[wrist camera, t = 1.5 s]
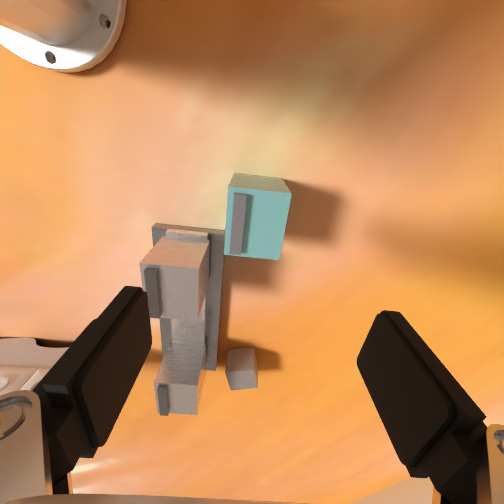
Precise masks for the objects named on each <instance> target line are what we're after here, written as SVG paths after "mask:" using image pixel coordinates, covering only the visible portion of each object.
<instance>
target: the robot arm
mask: <svg viewBox="0 0 504 504" xmlns="http://www.w3.org/2000/svg"><path fill="white" fill-rule="evenodd" d="M126 3H127V0H0V43H1V44H2V45H3V46H4V47H6V48H7V49H8V50H10V51H11V52H13V53H14V54H15V55H17V56H18V57H20V58H22V59H24V60H26V61H28V62H30V63H32V64H34V65H37V66H40V67H43V68H46V69H49V70H53V71H59V72H64V73H68V72H80V71H84V70H87V69H90V68H92V67H94V66H95V65H97V64H99V63H100V62H102V61H103V60H104V59H105V58H106V57H107V55H108V54H109V53H110V52H111V51H112V49H113V48H114V46H115V44H116V42H117V40H118V39H119V36H120V33H121V30H122V27H123V23H124V19H125V11H126ZM110 22H111V25H110V27H108V24H109V23H110ZM151 345H152V335H151V326H150V316H149V307H148V297H147V292H146V291H143V289H142V288H141V287H133V286H125V287H124V288H123V289H122V290H121V291H120V292H119V293H118V295H117V296H116V297H115V298H114V299H113V301H112V302H111V303H110V304H109V305H108V306H107V308H106V309H105V310H104V311H103V312H102V314H101V315H100V316H99V317H98V318H97V319H95V320H93V321H92V322H91V323H90V324H89V325H88V326H87V327H86V328H85V330H84V331H83V332H82V333H81V334H80V335H79V337H78V338H77V339H76V340H75V341H74V342H73V343H72V345H71V346H70V347H69V348H68V349H67V350H66V352H65V353H64V354H63V355H62V356H61V357H60V359H59V360H58V361H57V362H56V363H55V364H54V365H53V367H52V368H51V369H50V370H49V371H48V372H47V374H46V375H45V376H44V377H43V378H42V379H41V381H40V382H39V383H38V384H37V385H36V386H35V388H34V389H33V390H32V391H28V390H19V391H13V392H10V393H7V394H4V395H1V396H0V504H308V503H289V502H270V501H251V500H231V499H210V498H189V497H168V496H146V495H110V494H73V488H72V480H71V473H70V471H72V470H73V469H74V467H75V465H76V463H77V461H78V459H79V457H81V458H93V457H94V455H95V453H96V451H97V449H98V447H102V446H103V445H104V444H105V443H106V441H107V439H108V437H109V435H110V433H111V431H112V429H113V427H114V425H115V422H116V420H117V418H118V416H119V414H120V412H121V410H122V408H123V406H124V404H125V402H126V399H127V397H128V395H129V393H130V391H131V389H132V387H133V385H134V383H135V381H136V378H137V376H138V374H139V372H140V370H141V368H142V366H143V364H144V362H145V360H146V357H147V355H148V353H149V351H150V349H151ZM357 366H358V369H359V371H360V373H361V375H362V378H363V380H364V382H365V384H366V387H367V389H368V391H369V393H370V395H371V398H372V400H373V402H374V404H375V407H376V409H377V411H378V413H379V415H380V418H381V420H382V422H383V424H384V427H385V429H386V431H387V433H388V435H389V438H390V440H391V442H392V444H393V446H394V449H395V451H396V453H397V455H398V458H399V459H400V461H401V462H402V464H404V465H406V467H407V470H408V472H409V474H410V476H411V477H416V478H428V477H430V479H431V481H432V483H433V485H434V488H433V499H432V504H504V426H503V425H499V424H491V425H490V426H488V427H487V426H486V425H485V424H484V423H483V420H484V419H485V418H486V416H485V415H484V413H483V412H482V411H481V410H480V408H479V407H478V406H477V405H476V404H475V402H474V401H473V400H472V399H471V398H470V396H469V395H468V394H467V393H466V392H465V390H464V389H463V388H462V387H461V385H460V384H459V383H458V382H457V381H456V379H455V378H454V377H453V376H452V375H451V373H450V372H449V371H448V370H447V369H446V367H445V366H444V365H443V364H442V363H441V361H440V360H439V359H438V358H437V356H436V355H435V354H434V353H433V352H432V350H431V349H430V348H429V347H428V346H427V344H426V343H425V342H424V341H423V340H422V338H421V337H420V336H419V335H418V334H417V332H416V331H415V330H414V329H413V327H412V326H411V325H410V324H409V323H408V321H407V320H406V319H405V318H404V317H403V315H402V314H401V313H400V312H396V311H386V310H384V311H382V312H381V313H380V314H377V316H376V318H375V320H374V322H373V324H372V327H371V329H370V331H369V333H368V335H367V337H366V340H365V342H364V344H363V346H362V348H361V351H360V353H359V355H358V357H357Z"/></svg>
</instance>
